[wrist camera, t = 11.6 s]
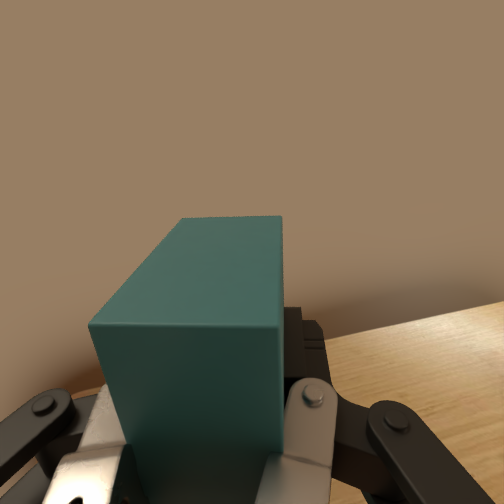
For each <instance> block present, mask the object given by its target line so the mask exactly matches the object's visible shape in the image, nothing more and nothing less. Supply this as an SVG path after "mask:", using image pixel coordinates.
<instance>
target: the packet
mask: <svg viewBox="0 0 504 504" xmlns="http://www.w3.org/2000/svg"><path fill="white" fill-rule="evenodd" d="M282 237H283V234H282V216H250V217H249V216H247V217H246V216H245V217H208V218H182V219H181V220H180V221H179V222H178V223H177V224H176V226H175V227H174V228H173V229H172V230H171V231H170V232H169V233H168V234H167V236H166V237H165V238H164V239H163V240H162V241H161V242H160V243H159V245H158V246H157V247H156V248H155V249H154V250H153V251H152V253H151V254H150V255H149V256H148V257H147V258H146V259H145V260H144V261H143V263H142V264H141V265H140V266H139V267H138V268H137V269H136V270H135V271H134V273H133V274H132V275H131V276H130V277H129V278H128V279H127V281H126V282H125V283H124V284H123V285H122V286H121V287H120V288H119V290H118V291H117V292H116V293H115V294H114V295H113V296H112V297H111V298H110V300H109V301H108V302H107V303H106V304H105V305H104V306H103V307H102V309H101V310H100V311H99V312H98V313H97V314H96V315H95V316H94V317H93V319H92V320H91V321H90V322H89V324H88V328H89V331H90V334H91V338H92V341H93V344H94V347H95V349H96V353H97V356H98V359H99V362H100V365H101V368H102V371H103V374H104V377H105V380H106V383H107V386H108V389H109V392H110V395H111V398H112V401H113V404H114V407H115V410H116V413H117V416H118V420H119V423H120V426H121V429H122V432H123V435H124V438H125V441H126V444H131V445H132V449H133V452H134V455H135V458H136V464H137V473H138V476H139V479H140V482H141V485H142V488H143V491H144V494H145V497H146V496H148V499H149V502H150V504H255V501H256V497H257V493H258V490H259V486H260V482H261V479H262V475H263V471H264V468H265V464H266V461H267V458H268V455H269V453H270V452H271V451H272V452H273V451H274V452H283V451H284V290H283V238H282Z"/></svg>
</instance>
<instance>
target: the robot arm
mask: <svg viewBox="0 0 504 504" xmlns="http://www.w3.org/2000/svg"><path fill="white" fill-rule="evenodd" d="M34 456H35V457H36V459H37V461H38V463H37V464H36V465H35V466H34V467H33V468H32V469H31V470H29V471H28V472H27V473H26V474H25V475H24V476H23V477H22V478H21V479H20V480H19V481H18V482H17V483H16V484H15V485H14V486H12V487H11V489H9V490H8V491H7V492H6V493H5V494H4V495H3V496H2V497H1V498H0V504H150V502H149V499H148V496H146V497H145V494H144V491H143V488H142V485H141V482H140V479H139V476H138V473H137V464H136V458H135V455H134V452H133V449H132V445H131V444H126V441H125V438H124V435H123V432H122V429H121V426H120V423H119V420H118V416H117V413H116V410H115V407H114V404H113V401H112V398H111V395H110V392H109V389H108V386H107V383H105V384H104V385H103V387H102V388H101V389H100V391H99V393H98V394H94V395H90V396H86V397H82V398H77V399H73V400H72V398H71V395H70V393H69V392H68V391H67V390H65V389H61V388H56V389H51V390H47V391H44V392H42V393H40V394H38V395H36V396H34V397H33V398H32V399H30V400H29V401H28V402H27V403H25V404H24V405H22V406H21V407H20V408H18V409H17V410H16V411H15V412H13V413H12V414H11V415H9V416H8V417H7V418H5V419H4V420H3V421H2V422H0V487H1V486H2V485H3V484H4V483H5V482H7V481H8V480H9V479H10V478H11V477H12V476H13V475H14V474H15V473H16V472H17V471H19V470H20V469H21V468H22V467H23V466H24V465H25V464H26V463H27V462H28V461H29V460H30V459H31V458H33V457H34ZM331 478H334V479H336V480H339V481H341V482H344V483H346V484H348V485H351V486H353V487H356V488H358V489H360V490H361V492H362V494H363V496H364V498H365V499H366V501H367V503H368V504H495V503H494V501H493V500H492V499H491V498H490V497H489V496H488V495H487V493H486V492H485V491H484V490H483V489H482V488H481V487H480V485H479V484H478V483H477V482H476V481H475V480H474V479H473V477H472V476H471V475H470V474H469V473H468V472H467V471H466V470H465V468H464V467H463V466H462V465H461V464H460V463H459V462H458V460H457V459H456V458H455V457H454V456H453V455H452V454H451V452H450V451H449V450H448V449H447V448H446V447H445V446H444V445H443V443H442V442H441V441H440V440H439V439H438V438H437V437H436V435H435V434H434V433H433V432H432V431H431V430H430V429H429V427H428V426H427V425H426V424H425V423H424V422H423V421H422V419H421V418H420V417H419V416H418V415H417V414H416V413H415V412H414V411H413V410H412V409H410V408H409V407H407V406H405V405H403V404H401V403H398V402H395V401H389V400H384V401H379V402H376V403H374V404H373V405H372V406H371V407H370V409H369V408H366V407H363V406H360V405H356V404H354V403H351V402H349V401H347V400H345V399H344V398H342V397H341V396H340V395H339V394H338V393H337V392H336V391H335V389H334V387H333V385H332V382H331V377H330V371H329V365H328V360H327V354H326V350H325V342H324V337H323V331H322V328H321V327H320V326H319V324H317V322H316V321H315V320H302V313H301V307H284V451H283V452H274V451H273V452H272V451H271V452H270V453H269V455H268V458H267V461H266V464H265V468H264V471H263V475H262V479H261V482H260V486H259V490H258V493H257V497H256V501H255V504H329V501H330V490H331Z"/></svg>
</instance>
